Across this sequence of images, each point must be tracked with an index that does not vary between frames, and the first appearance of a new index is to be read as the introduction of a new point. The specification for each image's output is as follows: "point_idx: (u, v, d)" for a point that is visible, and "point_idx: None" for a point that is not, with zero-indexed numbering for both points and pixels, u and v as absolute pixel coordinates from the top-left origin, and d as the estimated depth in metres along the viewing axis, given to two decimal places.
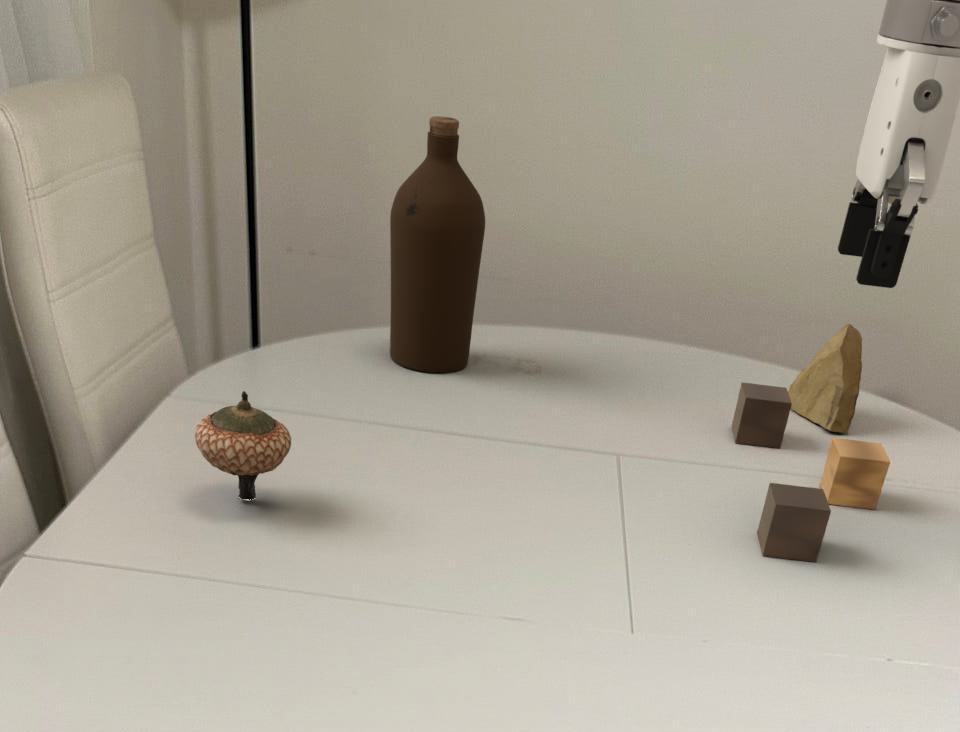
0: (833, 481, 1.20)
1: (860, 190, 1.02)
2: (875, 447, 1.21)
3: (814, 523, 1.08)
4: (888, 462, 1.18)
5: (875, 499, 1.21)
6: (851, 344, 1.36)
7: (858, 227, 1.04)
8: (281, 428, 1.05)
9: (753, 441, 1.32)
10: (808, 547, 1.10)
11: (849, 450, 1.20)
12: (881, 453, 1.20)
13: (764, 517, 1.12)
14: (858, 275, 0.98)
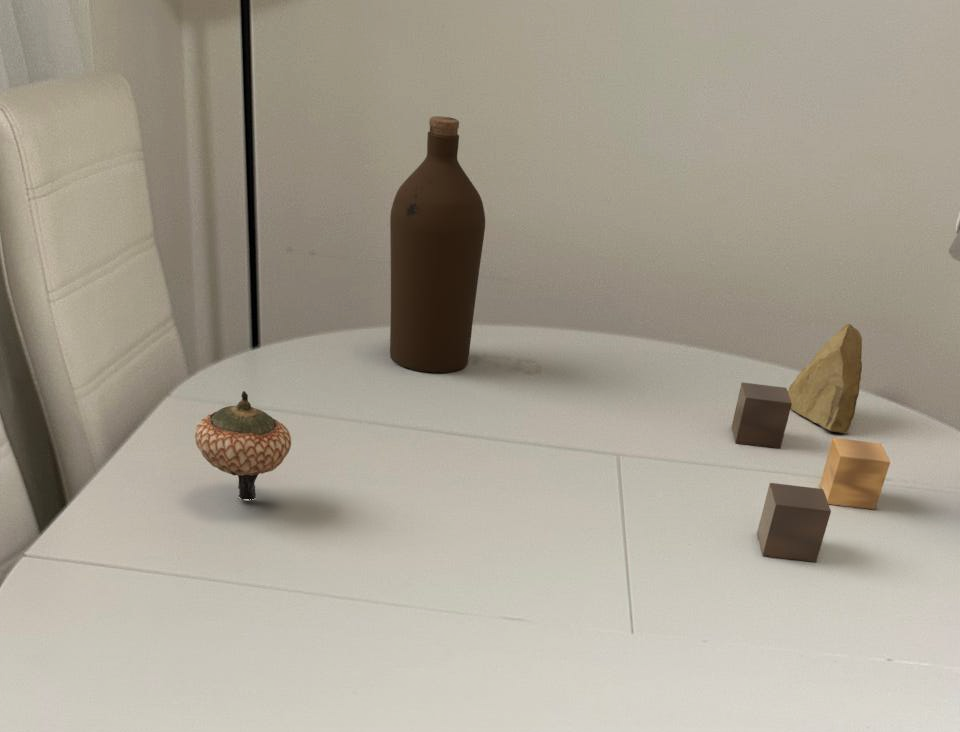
0: (833, 481, 1.20)
1: None
2: (875, 447, 1.21)
3: (814, 523, 1.08)
4: (888, 462, 1.18)
5: (875, 499, 1.21)
6: (851, 344, 1.36)
7: None
8: (281, 428, 1.05)
9: (753, 441, 1.32)
10: (808, 547, 1.10)
11: (849, 450, 1.20)
12: (881, 453, 1.20)
13: (764, 517, 1.12)
14: None
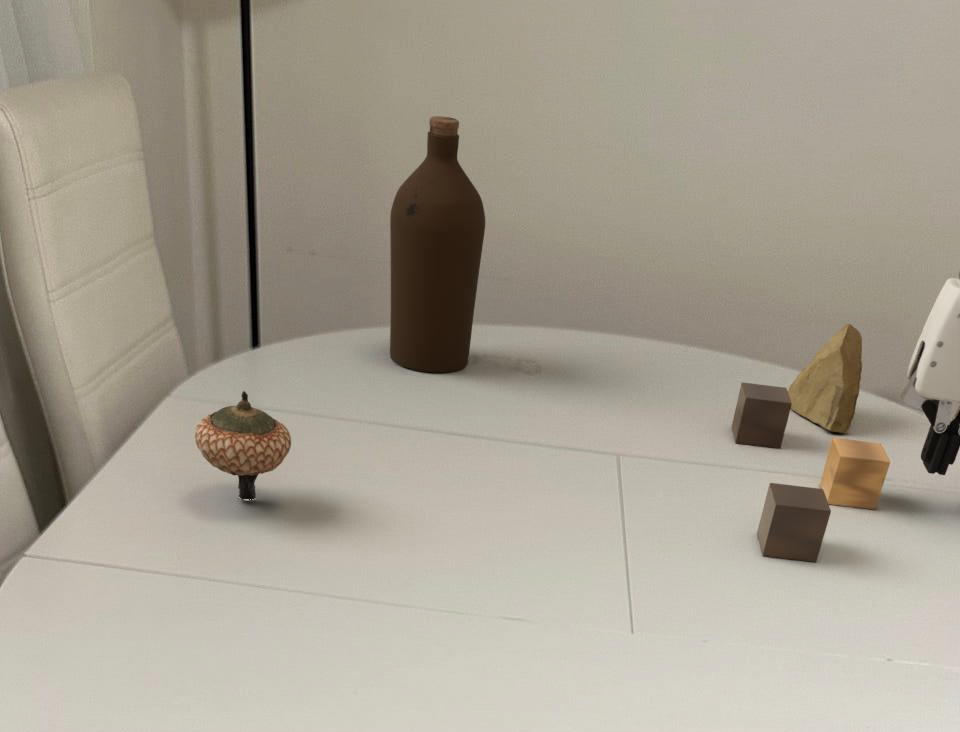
0: (833, 481, 1.20)
1: None
2: (875, 447, 1.21)
3: (814, 523, 1.08)
4: (888, 462, 1.18)
5: (875, 499, 1.21)
6: (851, 344, 1.36)
7: None
8: (281, 428, 1.05)
9: (753, 441, 1.32)
10: (808, 547, 1.10)
11: (849, 450, 1.20)
12: (881, 453, 1.20)
13: (764, 517, 1.12)
14: (945, 470, 1.19)
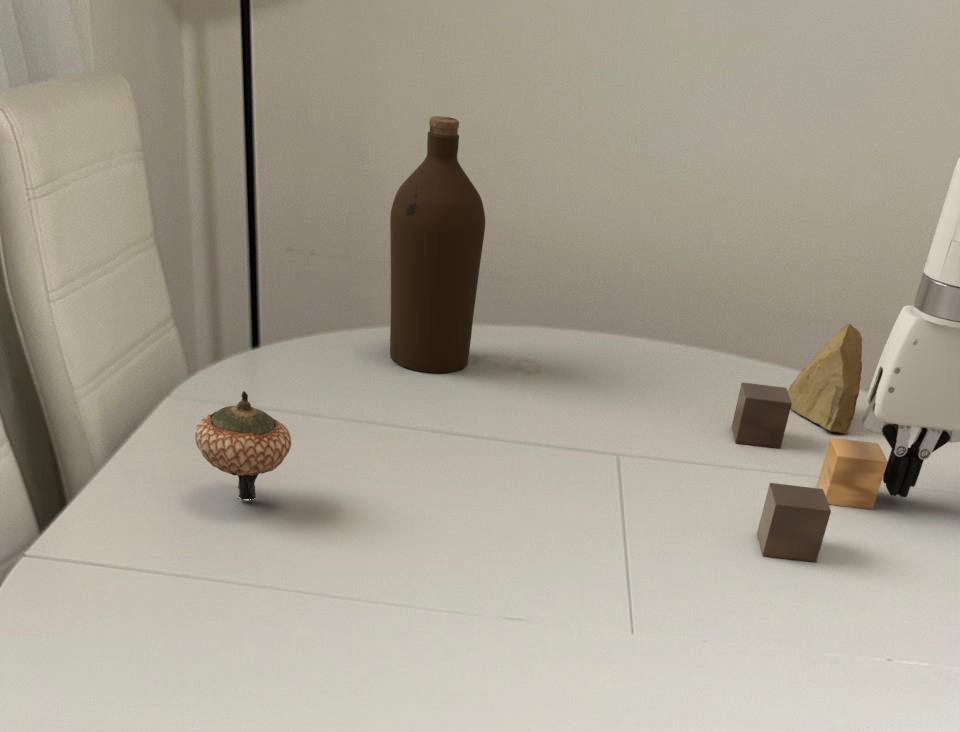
0: (831, 481, 1.20)
1: (908, 438, 1.18)
2: (872, 447, 1.21)
3: (814, 523, 1.08)
4: (885, 462, 1.18)
5: (872, 499, 1.21)
6: (851, 344, 1.36)
7: None
8: (281, 428, 1.05)
9: (753, 441, 1.32)
10: (808, 547, 1.10)
11: (846, 450, 1.20)
12: (878, 453, 1.20)
13: (764, 517, 1.12)
14: (907, 492, 1.21)
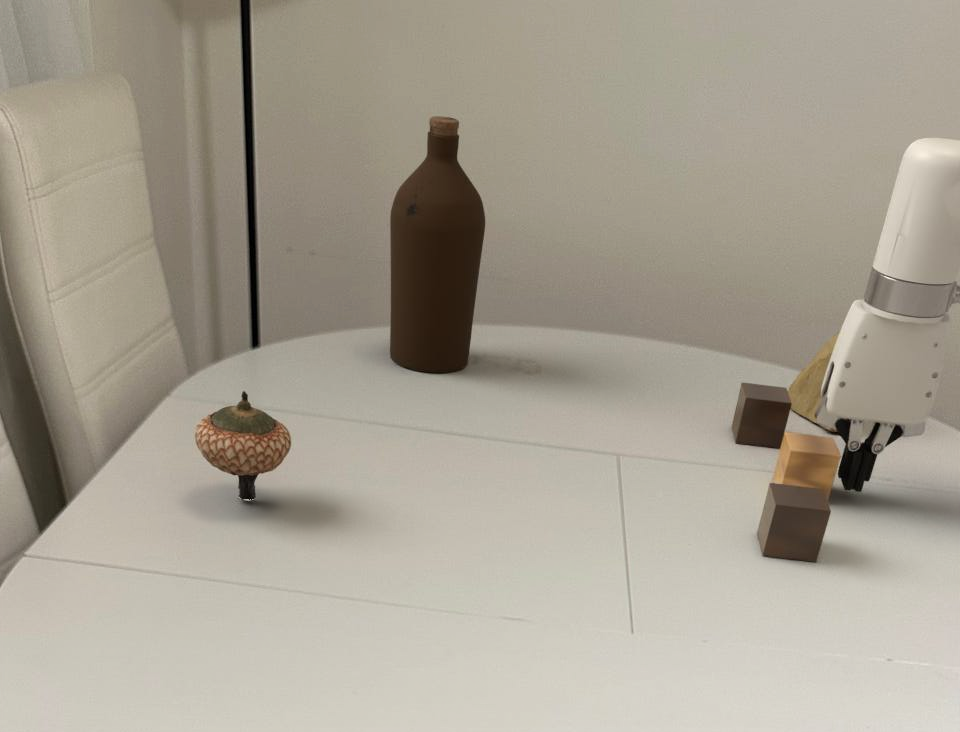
0: (784, 475, 1.20)
1: (861, 432, 1.18)
2: (826, 441, 1.21)
3: (814, 523, 1.08)
4: (838, 456, 1.18)
5: (826, 493, 1.21)
6: None
7: None
8: (281, 428, 1.05)
9: (753, 441, 1.32)
10: (808, 547, 1.10)
11: (800, 445, 1.20)
12: (832, 447, 1.20)
13: (764, 517, 1.12)
14: (861, 487, 1.21)
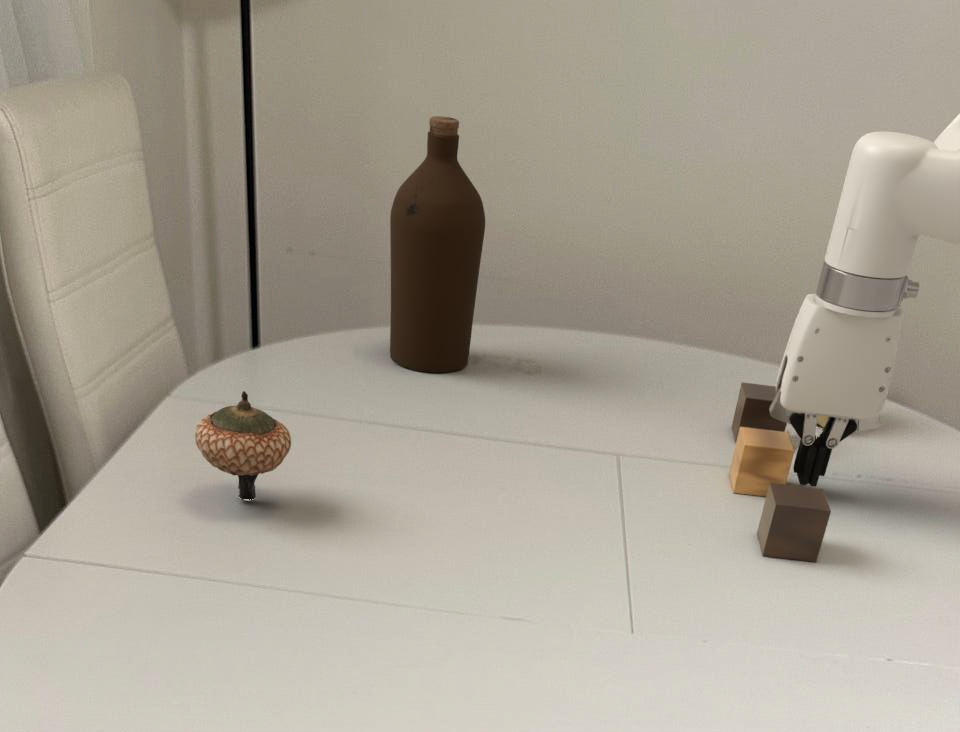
0: (739, 469, 1.20)
1: (815, 427, 1.18)
2: (781, 436, 1.21)
3: (814, 523, 1.08)
4: (792, 451, 1.18)
5: None
6: None
7: None
8: (281, 428, 1.05)
9: None
10: (808, 547, 1.10)
11: (754, 439, 1.20)
12: (786, 442, 1.20)
13: (764, 517, 1.12)
14: (816, 481, 1.21)
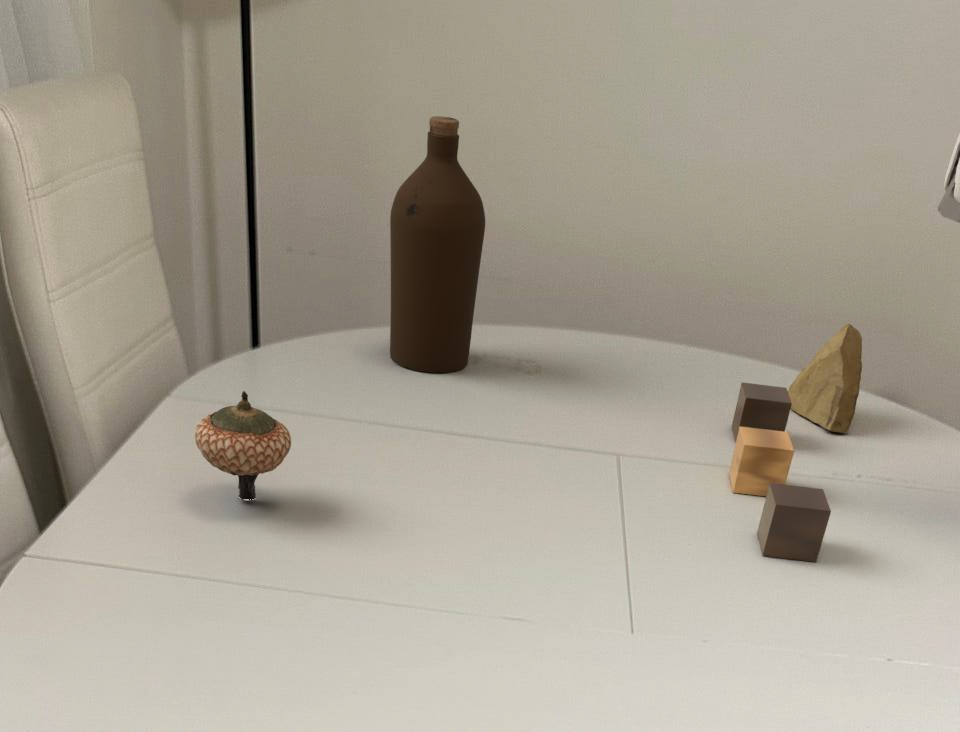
0: (738, 469, 1.20)
1: None
2: (781, 436, 1.21)
3: (814, 523, 1.08)
4: (792, 450, 1.18)
5: None
6: (851, 344, 1.36)
7: None
8: (281, 428, 1.05)
9: None
10: (808, 547, 1.10)
11: (754, 439, 1.20)
12: (786, 442, 1.20)
13: (764, 517, 1.12)
14: None
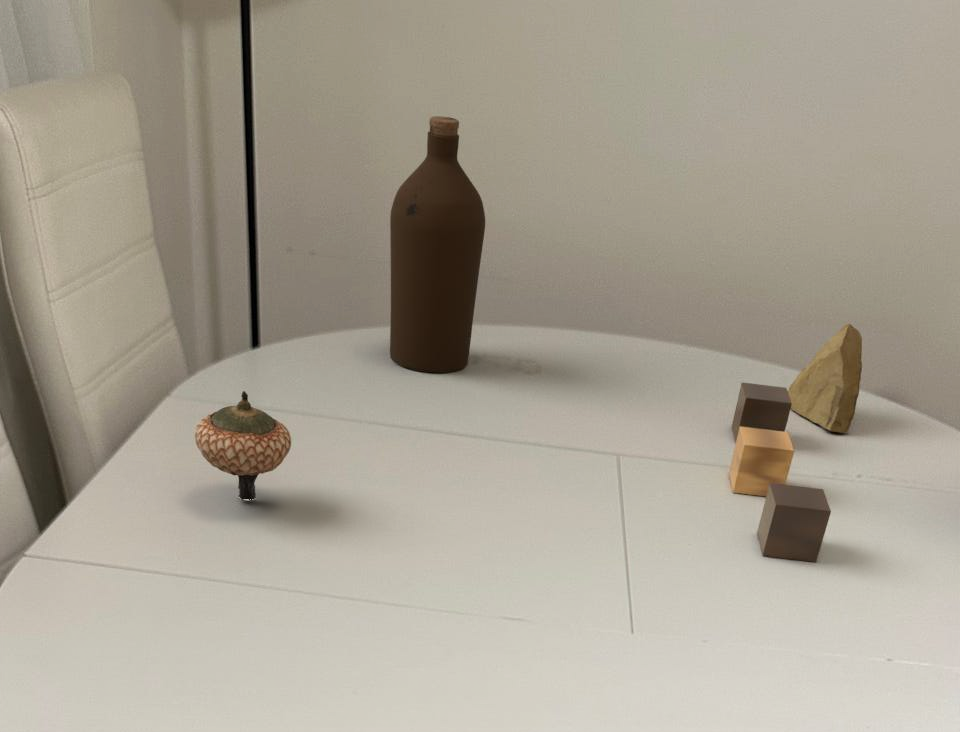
0: (738, 469, 1.20)
1: None
2: (781, 436, 1.21)
3: (814, 523, 1.08)
4: (792, 450, 1.18)
5: None
6: (851, 344, 1.36)
7: None
8: (281, 428, 1.05)
9: None
10: (808, 547, 1.10)
11: (754, 439, 1.20)
12: (786, 442, 1.20)
13: (764, 517, 1.12)
14: None
